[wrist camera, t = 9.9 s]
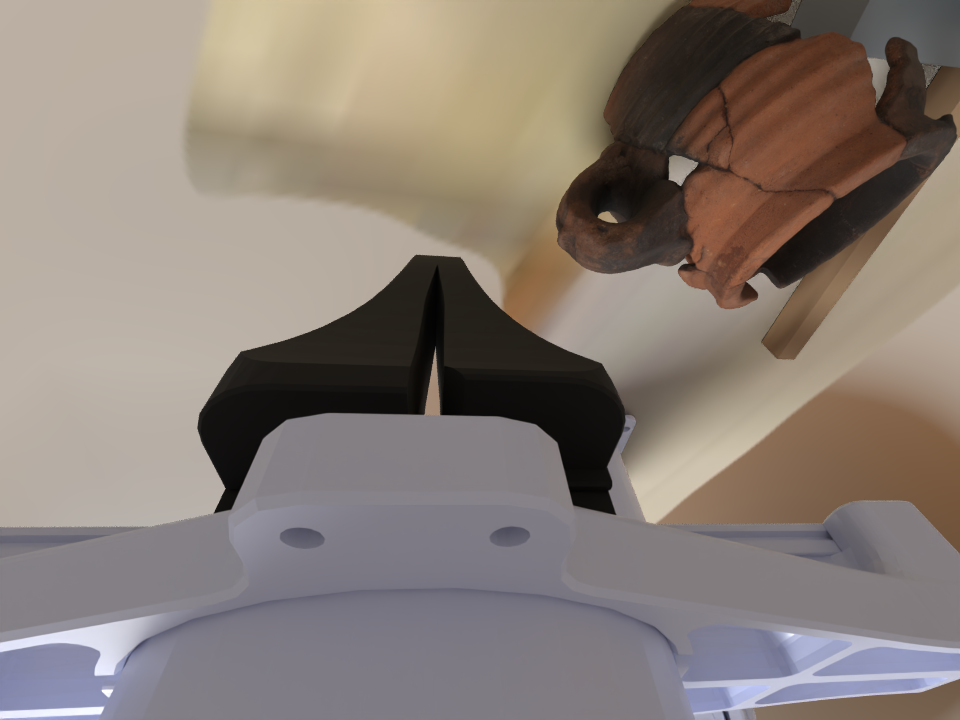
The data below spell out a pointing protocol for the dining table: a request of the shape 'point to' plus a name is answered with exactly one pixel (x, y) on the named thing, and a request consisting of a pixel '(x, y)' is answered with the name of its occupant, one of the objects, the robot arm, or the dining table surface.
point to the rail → (851, 247)
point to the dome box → (888, 25)
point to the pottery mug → (750, 151)
